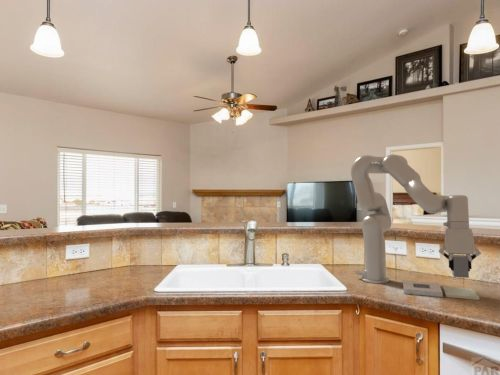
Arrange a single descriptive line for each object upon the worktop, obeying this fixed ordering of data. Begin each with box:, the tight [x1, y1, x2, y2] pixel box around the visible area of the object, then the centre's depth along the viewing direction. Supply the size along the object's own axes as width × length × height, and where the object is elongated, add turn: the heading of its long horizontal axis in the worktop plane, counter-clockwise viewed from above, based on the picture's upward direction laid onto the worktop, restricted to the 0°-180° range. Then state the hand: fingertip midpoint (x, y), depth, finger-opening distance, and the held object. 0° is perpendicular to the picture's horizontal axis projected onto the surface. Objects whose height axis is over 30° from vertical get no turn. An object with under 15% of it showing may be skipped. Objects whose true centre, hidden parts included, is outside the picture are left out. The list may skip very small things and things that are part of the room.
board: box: [442, 286, 480, 301], centre depth 137 cm, size 11×12×1 cm
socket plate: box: [402, 280, 443, 298], centre depth 143 cm, size 14×14×2 cm
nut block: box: [451, 254, 470, 279], centre depth 137 cm, size 5×5×8 cm
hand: (460, 269), depth 137 cm, fingers closed on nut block, 5 cm apart
